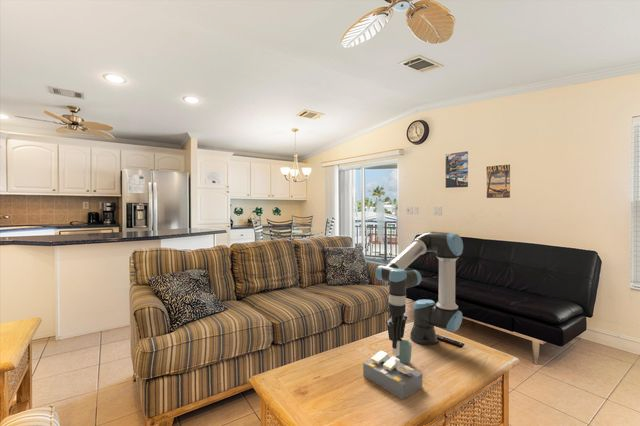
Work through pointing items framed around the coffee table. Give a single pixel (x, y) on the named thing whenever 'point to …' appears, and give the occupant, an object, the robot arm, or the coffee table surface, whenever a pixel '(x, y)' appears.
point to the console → (393, 378)
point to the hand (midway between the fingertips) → (395, 354)
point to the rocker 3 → (405, 369)
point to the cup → (405, 352)
